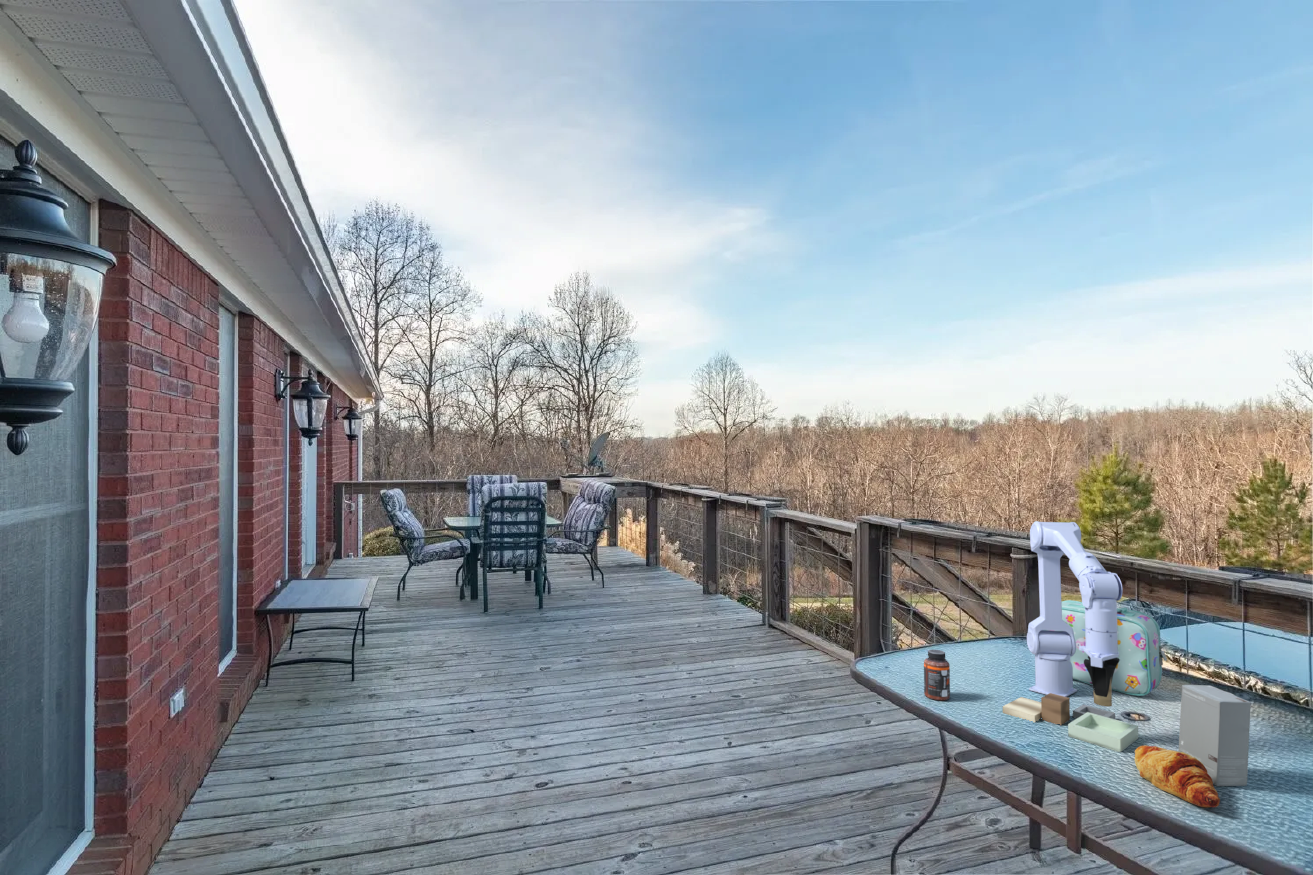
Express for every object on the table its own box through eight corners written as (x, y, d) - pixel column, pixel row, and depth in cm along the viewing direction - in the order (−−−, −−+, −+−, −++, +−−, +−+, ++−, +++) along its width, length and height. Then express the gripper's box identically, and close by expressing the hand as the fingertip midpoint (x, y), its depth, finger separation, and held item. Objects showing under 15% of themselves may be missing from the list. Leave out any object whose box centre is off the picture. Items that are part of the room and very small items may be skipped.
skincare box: (1176, 766, 125) (1175, 683, 126) (1210, 764, 126) (1208, 682, 126) (1218, 788, 117) (1216, 699, 117) (1254, 786, 117) (1252, 698, 118)
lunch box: (1172, 695, 163) (1170, 610, 163) (1156, 704, 157) (1154, 615, 158) (1058, 667, 185) (1056, 592, 186) (1040, 674, 179) (1039, 596, 180)
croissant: (1124, 775, 129) (1103, 738, 129) (1172, 754, 128) (1150, 716, 129) (1200, 834, 108) (1174, 789, 108) (1258, 809, 107) (1231, 764, 108)
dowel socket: (1083, 710, 153) (1083, 704, 153) (1115, 719, 148) (1115, 712, 148) (1072, 717, 149) (1072, 710, 149) (1105, 726, 144) (1104, 719, 144)
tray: (1087, 723, 145) (1087, 711, 145) (1138, 738, 138) (1138, 725, 138) (1068, 736, 139) (1068, 724, 139) (1120, 752, 131) (1120, 739, 131)
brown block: (1050, 714, 150) (1050, 692, 151) (1069, 720, 147) (1069, 697, 147) (1041, 719, 147) (1041, 697, 147) (1061, 725, 144) (1060, 702, 144)
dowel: (1098, 699, 141) (1098, 667, 141) (1115, 704, 138) (1114, 671, 138) (1090, 702, 139) (1090, 669, 139) (1106, 707, 136) (1106, 674, 136)
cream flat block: (1021, 705, 158) (1021, 696, 158) (1052, 713, 152) (1052, 705, 152) (1002, 714, 151) (1002, 706, 151) (1034, 724, 146) (1034, 715, 146)
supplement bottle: (952, 702, 158) (952, 655, 158) (926, 700, 159) (926, 654, 159) (946, 693, 164) (946, 648, 164) (921, 691, 165) (921, 647, 165)
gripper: (1084, 620, 147) (1085, 680, 147) (1073, 632, 136) (1074, 697, 136) (1122, 625, 142) (1123, 687, 142) (1113, 638, 131) (1115, 706, 131)
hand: (1102, 693), depth 138 cm, fingers closed on dowel, 3 cm apart
